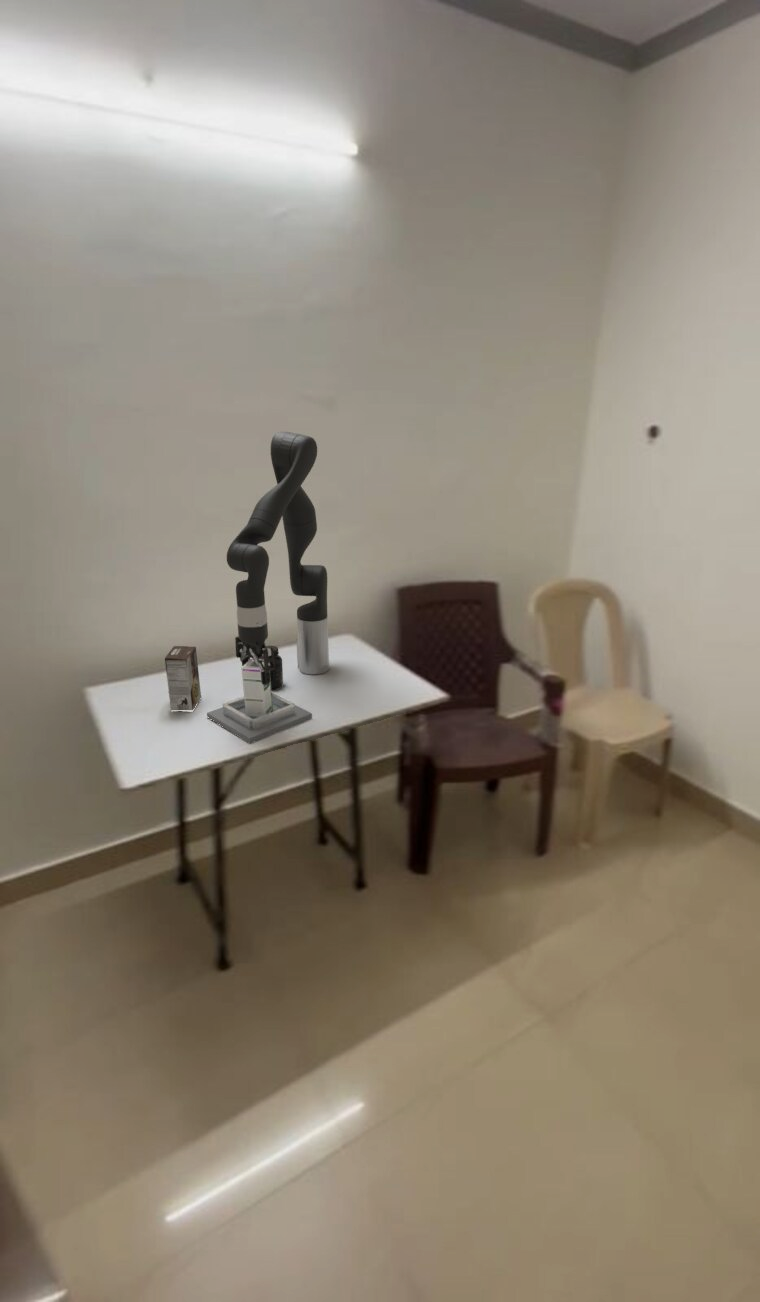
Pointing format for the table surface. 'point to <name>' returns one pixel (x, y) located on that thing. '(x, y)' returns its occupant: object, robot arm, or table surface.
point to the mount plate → (264, 731)
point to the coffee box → (183, 678)
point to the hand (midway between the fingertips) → (256, 678)
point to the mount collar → (263, 720)
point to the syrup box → (255, 690)
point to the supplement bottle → (276, 670)
